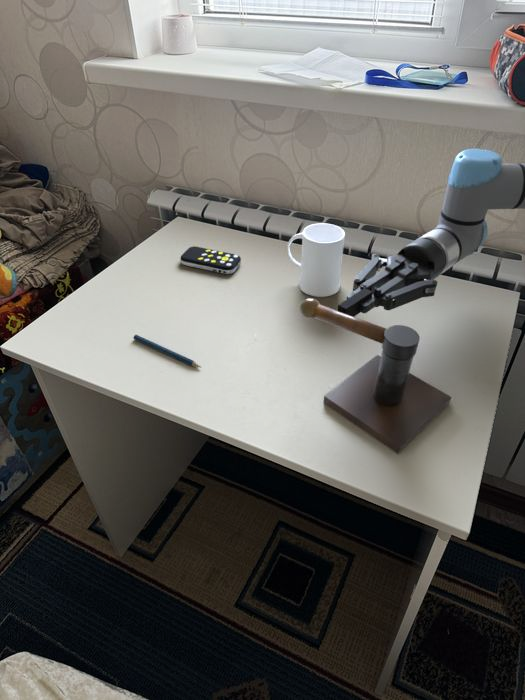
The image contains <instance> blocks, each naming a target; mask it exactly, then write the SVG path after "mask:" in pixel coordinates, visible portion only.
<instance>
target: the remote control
mask: <svg viewBox="0 0 525 700" xmlns="http://www.w3.org/2000/svg"><path fill="white" fill-rule="evenodd" d="M179 258H180V263H181V265H184V266H187V267H192V268H195V269H196V268H197V269H201V270H205V271H211V272H215V273H219V274H224V275H231V274H234V272H236V270H237V269H238V268H239V266H241V264H242V258H241V256H240V255H239V254H235V253H231V252H225V251H222V250H221V251H220V250H216V249H210V248H205V247H201V246H195V245H193V246H190V247H188V248H187V249H186V250H185V251H184V252H183V253H182V254H181V256H180V257H179Z"/></svg>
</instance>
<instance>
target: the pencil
mask: <svg viewBox="0 0 525 700" xmlns="http://www.w3.org/2000/svg"><path fill="white" fill-rule="evenodd" d="M133 340H135V341H136V342H138V343H141V344H143V345H146V346H148V347H150V348H152V349H154V350H156V351H158V352H160V353H163V354H165V355H167V356H169V357H171V358H173V359H176V360H178V361H180V362H182V363H184V364H186V365H188V366H191V367H194V368H195V367H196V368H201V365H200V364H198V363H197V362H196V361H195V360H193V359H191V358H188V357H186V356H185V355H182V354H180V353H178V352H175V351H173V350H171V349H169V348H166V347H164V346H162V345H160V344H158V343H156V342H153V341H152V340H149V339H147V338H145V337H143V336H141V335H139V334H135V335H133Z"/></svg>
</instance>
